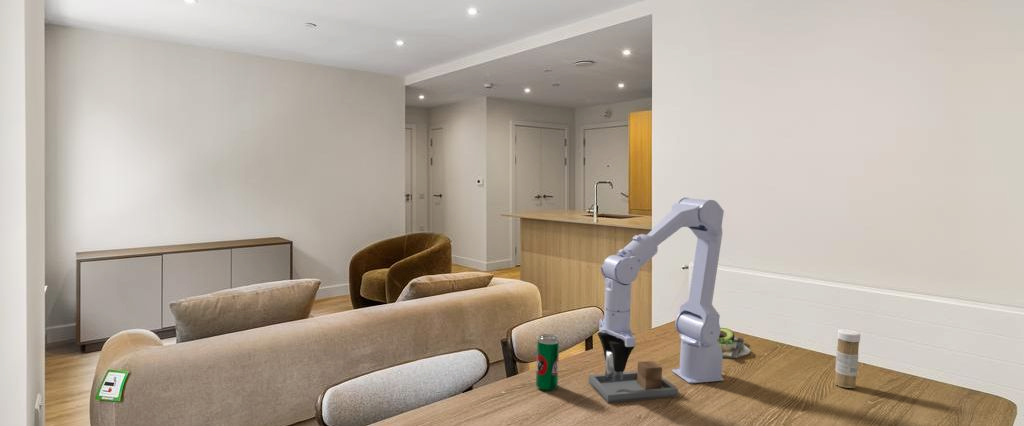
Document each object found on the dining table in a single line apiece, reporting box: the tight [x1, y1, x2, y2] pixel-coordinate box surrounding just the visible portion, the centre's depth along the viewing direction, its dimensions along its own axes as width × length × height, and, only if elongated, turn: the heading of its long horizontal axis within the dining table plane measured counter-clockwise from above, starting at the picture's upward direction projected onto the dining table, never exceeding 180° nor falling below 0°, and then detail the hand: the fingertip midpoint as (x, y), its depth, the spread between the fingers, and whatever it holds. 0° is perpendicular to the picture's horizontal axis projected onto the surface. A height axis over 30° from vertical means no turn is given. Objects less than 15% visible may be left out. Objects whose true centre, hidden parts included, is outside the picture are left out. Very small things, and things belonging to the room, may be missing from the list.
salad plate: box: [717, 327, 751, 359], centre depth 149 cm, size 19×18×5 cm
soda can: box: [535, 333, 560, 392], centre depth 121 cm, size 5×5×12 cm
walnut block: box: [637, 360, 663, 390], centre depth 122 cm, size 4×4×5 cm
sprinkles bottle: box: [833, 328, 861, 389], centre depth 125 cm, size 5×5×14 cm
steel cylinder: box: [604, 349, 624, 381], centre depth 119 cm, size 4×4×6 cm
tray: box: [587, 371, 679, 404], centre depth 121 cm, size 17×11×2 cm, turn 104°
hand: (614, 367), depth 119 cm, fingers closed on steel cylinder, 4 cm apart
